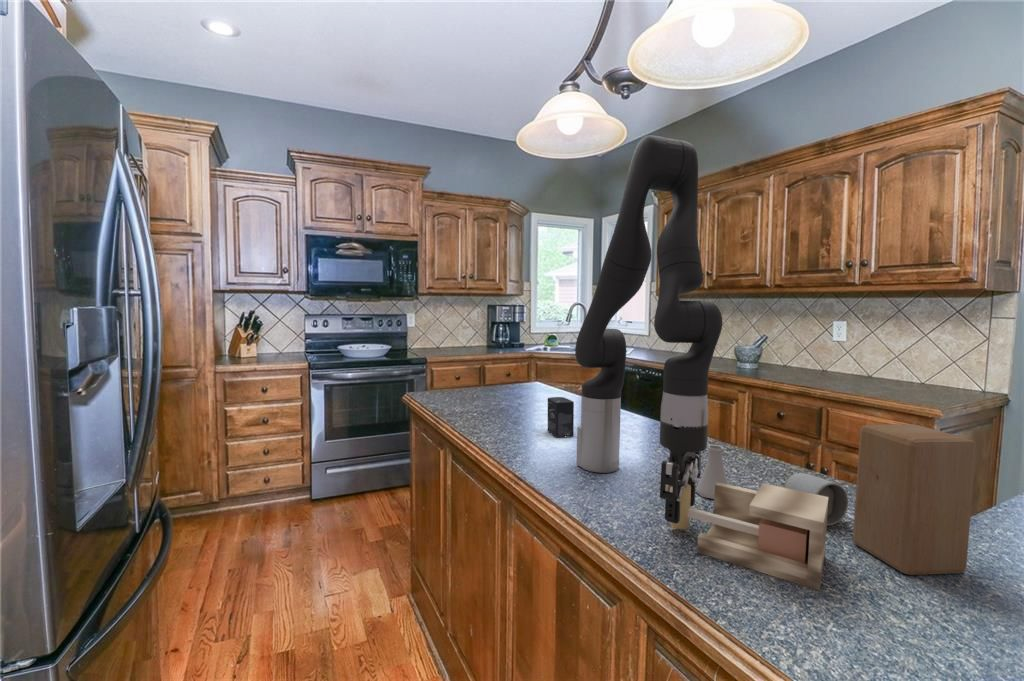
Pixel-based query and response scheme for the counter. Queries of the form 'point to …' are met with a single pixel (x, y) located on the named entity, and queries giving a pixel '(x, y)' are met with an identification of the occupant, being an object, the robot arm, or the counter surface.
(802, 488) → the ceramic mug
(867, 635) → the counter surface
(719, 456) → the flask
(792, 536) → the pull block
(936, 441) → the wooden block
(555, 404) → the box
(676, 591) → the counter surface
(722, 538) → the shelf
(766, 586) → the counter surface
